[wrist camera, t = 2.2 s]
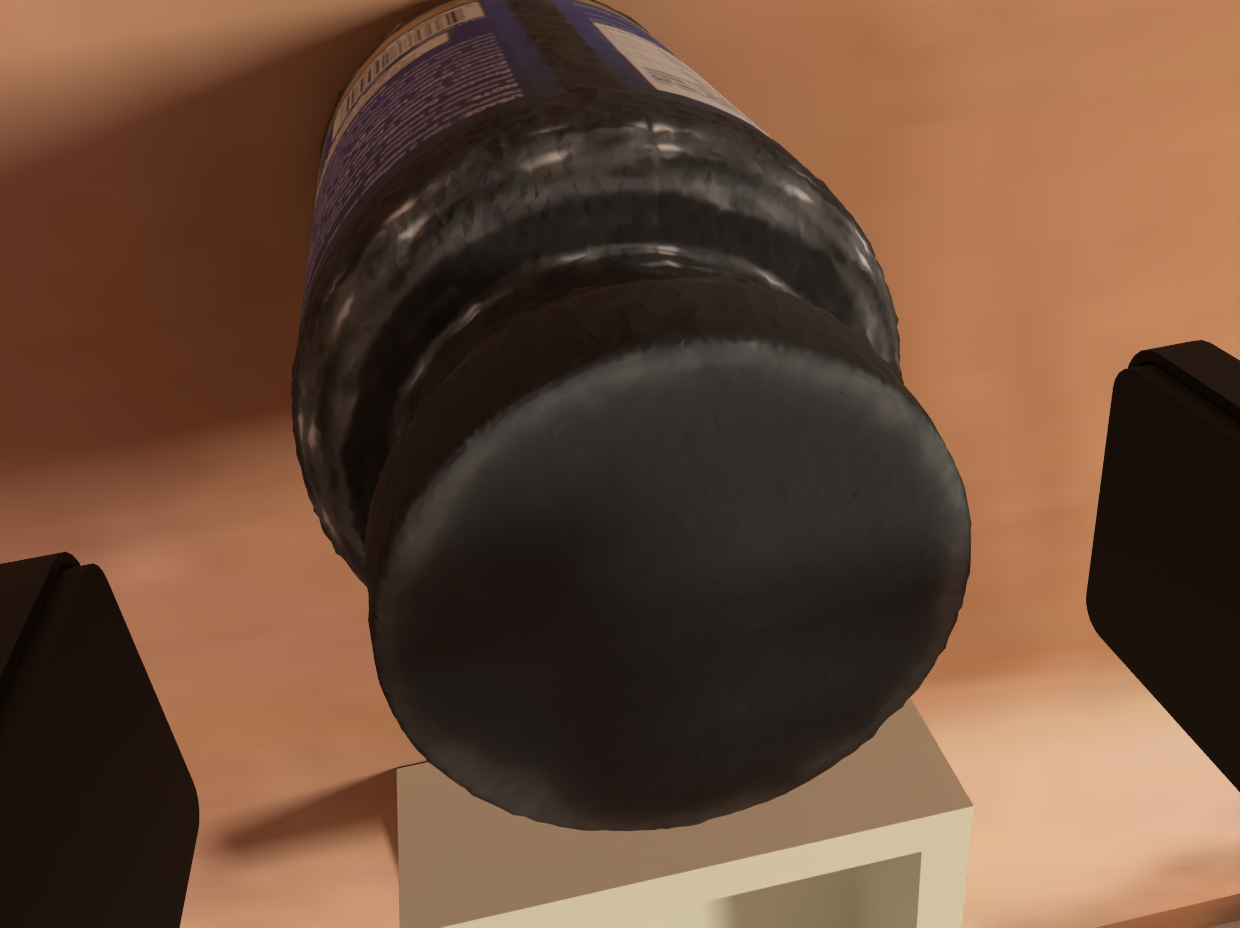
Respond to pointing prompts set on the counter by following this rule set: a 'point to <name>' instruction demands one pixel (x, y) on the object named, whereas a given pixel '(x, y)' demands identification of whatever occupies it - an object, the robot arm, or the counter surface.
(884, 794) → the holder
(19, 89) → the counter surface
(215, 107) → the counter surface
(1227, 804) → the counter surface
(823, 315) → the pill bottle
